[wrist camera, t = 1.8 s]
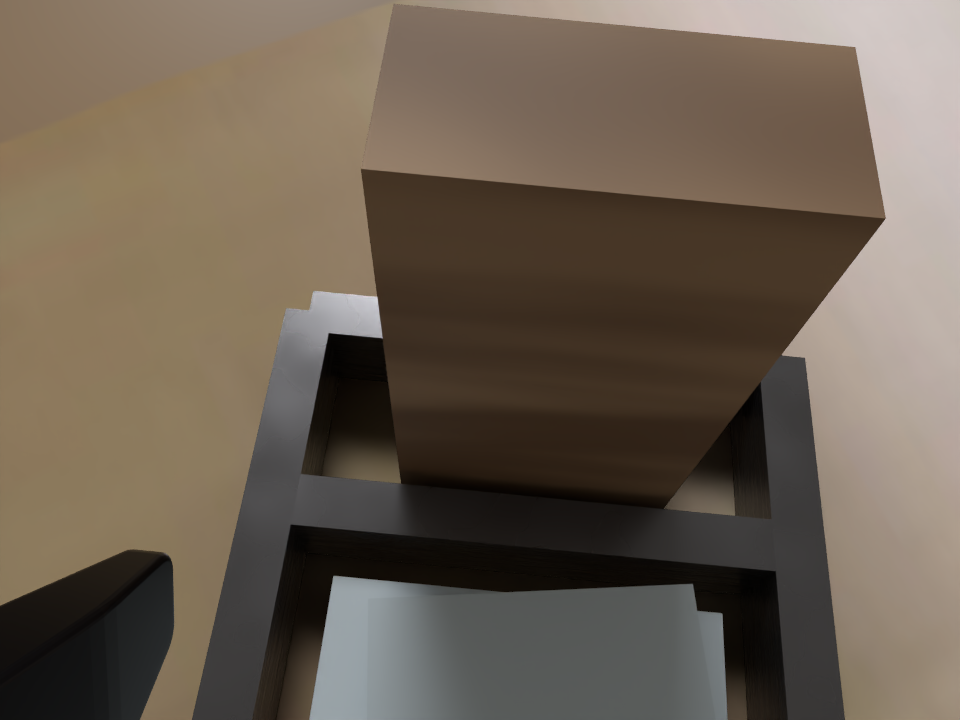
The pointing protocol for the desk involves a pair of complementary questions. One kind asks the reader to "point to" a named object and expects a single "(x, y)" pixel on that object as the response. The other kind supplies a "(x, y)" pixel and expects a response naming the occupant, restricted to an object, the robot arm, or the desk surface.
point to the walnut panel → (599, 240)
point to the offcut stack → (518, 654)
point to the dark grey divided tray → (519, 529)
